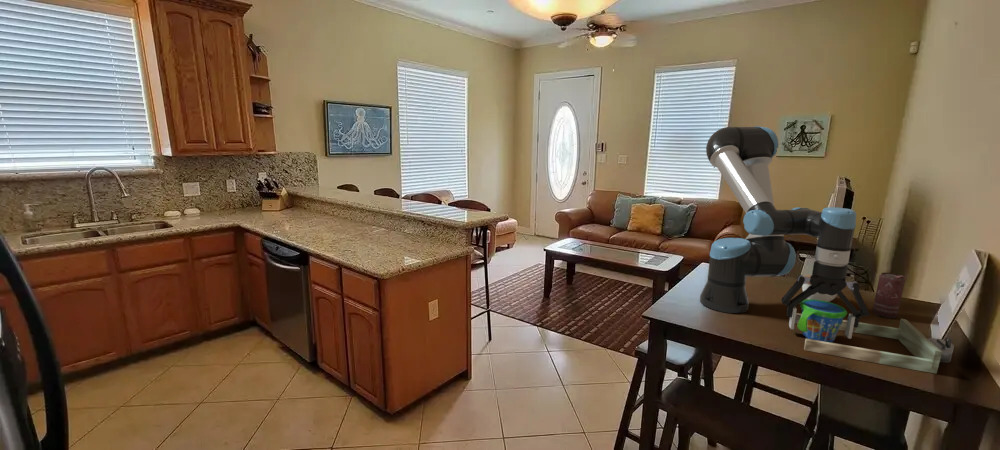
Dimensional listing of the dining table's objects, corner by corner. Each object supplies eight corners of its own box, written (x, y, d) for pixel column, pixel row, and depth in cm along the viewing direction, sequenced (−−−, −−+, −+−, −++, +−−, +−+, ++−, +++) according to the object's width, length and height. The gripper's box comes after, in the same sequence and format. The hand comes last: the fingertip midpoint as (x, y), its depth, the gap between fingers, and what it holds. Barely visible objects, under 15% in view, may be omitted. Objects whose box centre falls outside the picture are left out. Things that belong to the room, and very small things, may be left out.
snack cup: (821, 327, 129) (827, 296, 126) (857, 343, 119) (863, 310, 116) (780, 332, 125) (785, 301, 123) (813, 350, 115) (819, 316, 113)
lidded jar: (841, 301, 148) (845, 276, 146) (829, 308, 142) (834, 282, 140) (806, 292, 157) (810, 269, 155) (794, 298, 151) (798, 274, 149)
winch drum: (931, 362, 108) (937, 337, 107) (919, 351, 114) (925, 327, 113) (957, 367, 106) (963, 341, 105) (944, 355, 112) (950, 330, 110)
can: (902, 319, 134) (911, 278, 131) (879, 318, 135) (888, 277, 132) (889, 312, 140) (897, 272, 137) (867, 310, 141) (875, 271, 138)
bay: (804, 350, 115) (808, 330, 114) (790, 321, 133) (793, 303, 132) (936, 373, 103) (941, 351, 102) (901, 338, 121) (906, 319, 120)
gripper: (780, 260, 119) (770, 328, 123) (893, 272, 108) (878, 346, 113) (776, 254, 126) (767, 319, 130) (882, 264, 115) (868, 334, 119)
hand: (818, 332), depth 121 cm, fingers open, 13 cm apart
